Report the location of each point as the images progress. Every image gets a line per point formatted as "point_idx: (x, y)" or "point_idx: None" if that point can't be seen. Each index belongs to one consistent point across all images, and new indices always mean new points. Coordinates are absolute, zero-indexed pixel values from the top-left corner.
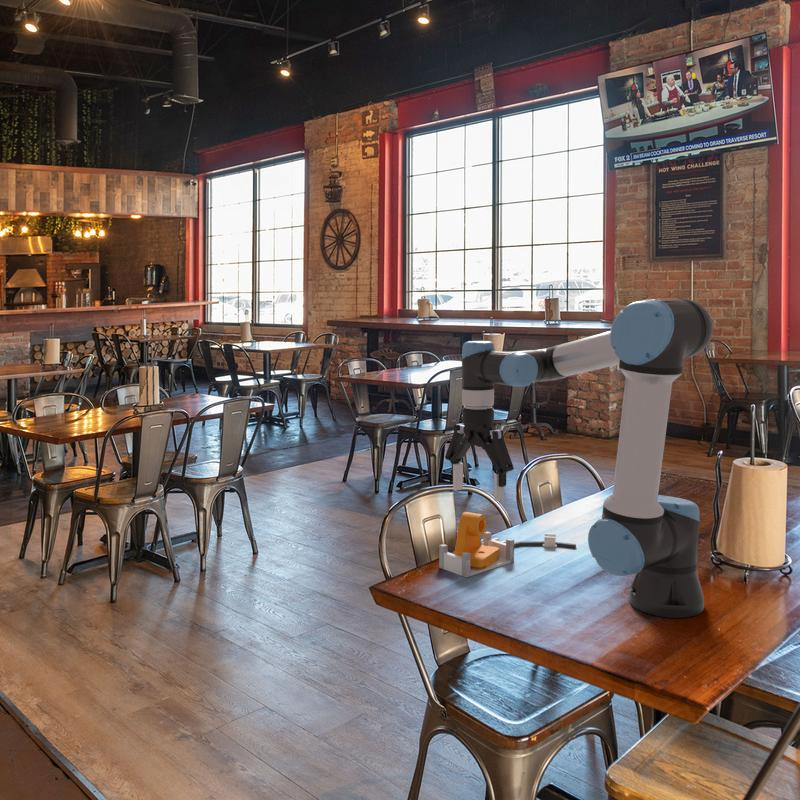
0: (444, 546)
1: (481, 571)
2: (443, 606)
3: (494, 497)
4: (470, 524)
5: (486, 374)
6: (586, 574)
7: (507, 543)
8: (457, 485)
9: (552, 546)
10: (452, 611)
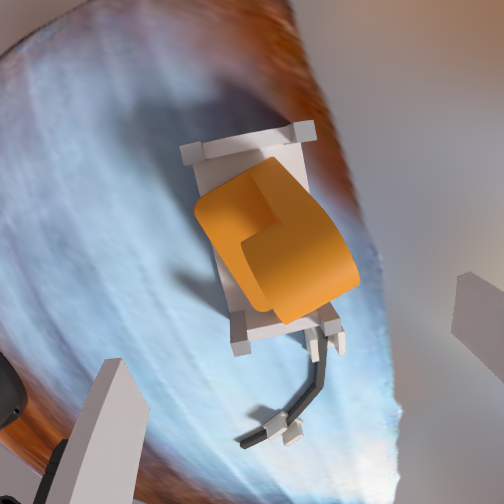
0: (293, 127)
1: None
2: (72, 28)
3: (113, 370)
4: (269, 233)
5: None
6: None
7: (241, 334)
8: (474, 306)
9: (268, 422)
10: (46, 38)
